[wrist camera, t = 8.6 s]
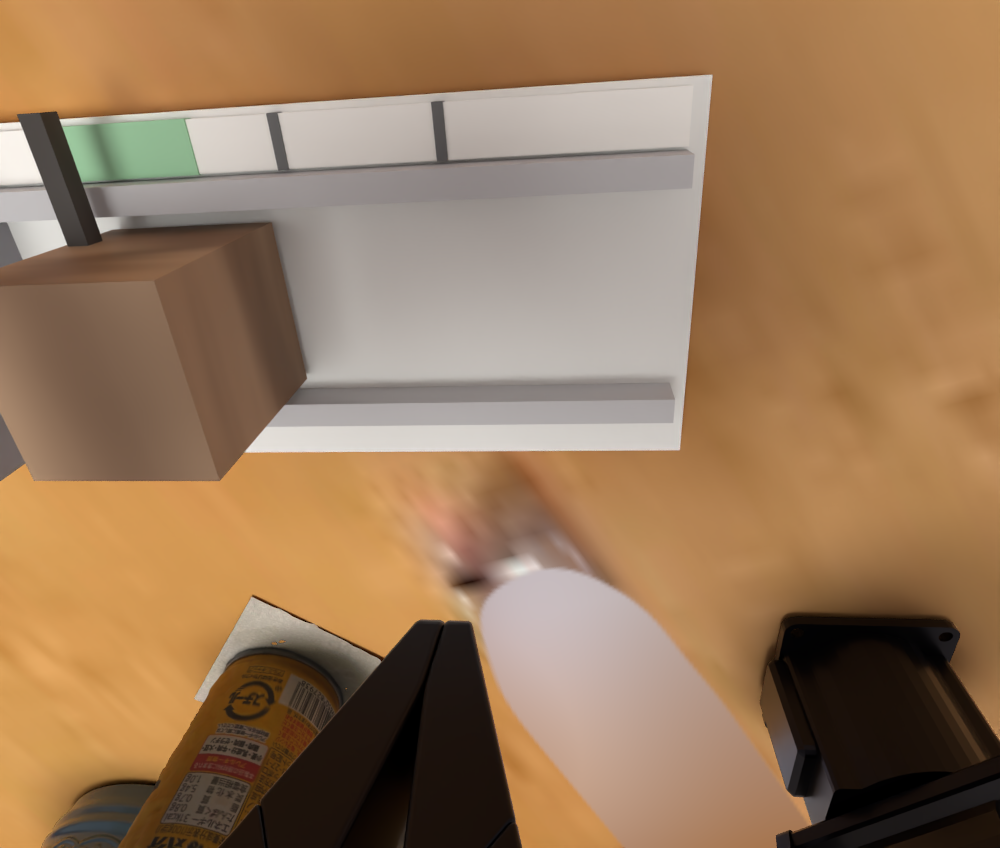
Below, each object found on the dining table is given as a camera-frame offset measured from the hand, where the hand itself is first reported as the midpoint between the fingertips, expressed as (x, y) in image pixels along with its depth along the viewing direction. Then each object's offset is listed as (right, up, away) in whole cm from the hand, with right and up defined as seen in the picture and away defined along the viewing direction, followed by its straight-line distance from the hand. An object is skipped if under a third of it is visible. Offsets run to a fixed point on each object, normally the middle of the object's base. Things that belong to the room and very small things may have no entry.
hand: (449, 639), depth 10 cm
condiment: (-9, -9, +21) cm, 24 cm away
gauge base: (-5, +8, +11) cm, 14 cm away
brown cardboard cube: (-8, +8, +9) cm, 15 cm away
